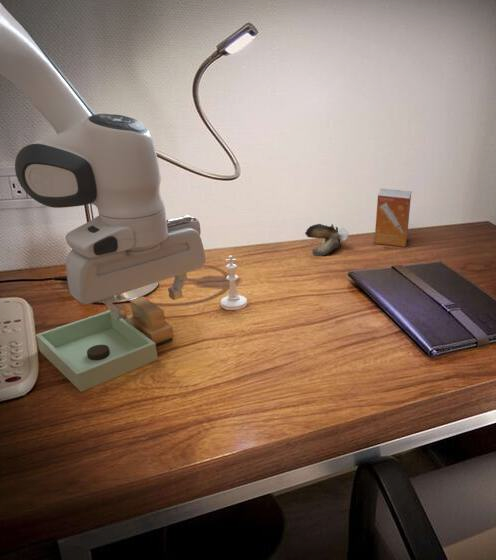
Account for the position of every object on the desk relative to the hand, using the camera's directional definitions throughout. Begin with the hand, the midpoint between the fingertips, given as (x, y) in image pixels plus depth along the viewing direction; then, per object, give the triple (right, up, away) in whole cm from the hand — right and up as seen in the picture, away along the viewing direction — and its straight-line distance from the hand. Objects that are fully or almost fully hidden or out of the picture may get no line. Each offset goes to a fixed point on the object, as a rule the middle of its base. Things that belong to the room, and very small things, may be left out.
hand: (148, 307), depth 85 cm
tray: (-6, -8, -3) cm, 10 cm away
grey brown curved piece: (+22, +12, +43) cm, 50 cm away
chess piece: (+9, 0, +15) cm, 18 cm away
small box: (+38, +14, +51) cm, 65 cm away
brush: (-1, -5, +3) cm, 6 cm away
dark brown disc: (-6, -7, -4) cm, 10 cm away
